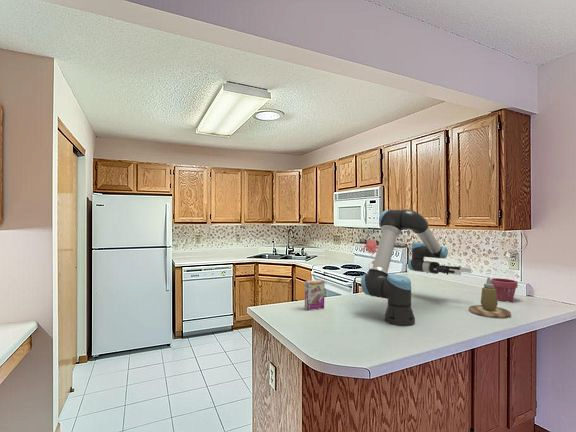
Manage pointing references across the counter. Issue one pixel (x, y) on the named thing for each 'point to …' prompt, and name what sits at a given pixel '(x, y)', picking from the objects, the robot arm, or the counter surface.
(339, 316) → the counter surface
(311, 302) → the candy bar box
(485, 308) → the squeeze bottle
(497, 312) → the walnut board
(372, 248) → the figurine
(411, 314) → the robot arm
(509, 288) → the plant pot
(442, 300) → the counter surface
